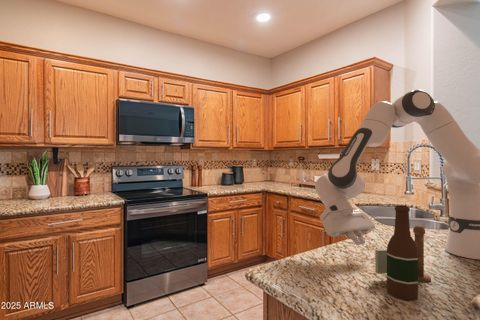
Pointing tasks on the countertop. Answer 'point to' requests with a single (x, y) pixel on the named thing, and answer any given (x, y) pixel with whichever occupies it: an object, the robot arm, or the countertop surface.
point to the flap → (381, 261)
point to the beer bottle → (402, 259)
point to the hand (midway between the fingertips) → (361, 243)
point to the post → (420, 253)
